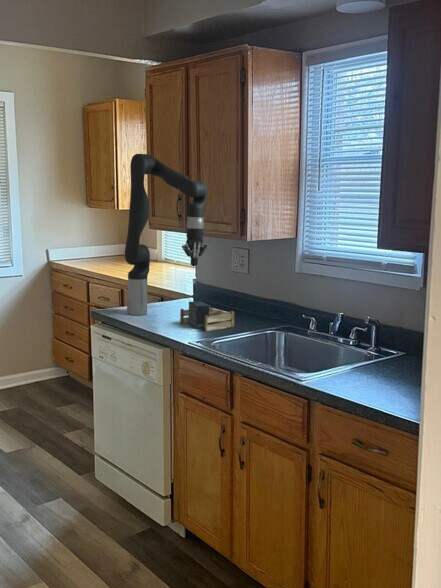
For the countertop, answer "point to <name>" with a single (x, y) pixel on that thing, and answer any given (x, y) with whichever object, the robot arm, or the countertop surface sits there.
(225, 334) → the countertop surface
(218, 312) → the pine crate
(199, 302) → the small box
